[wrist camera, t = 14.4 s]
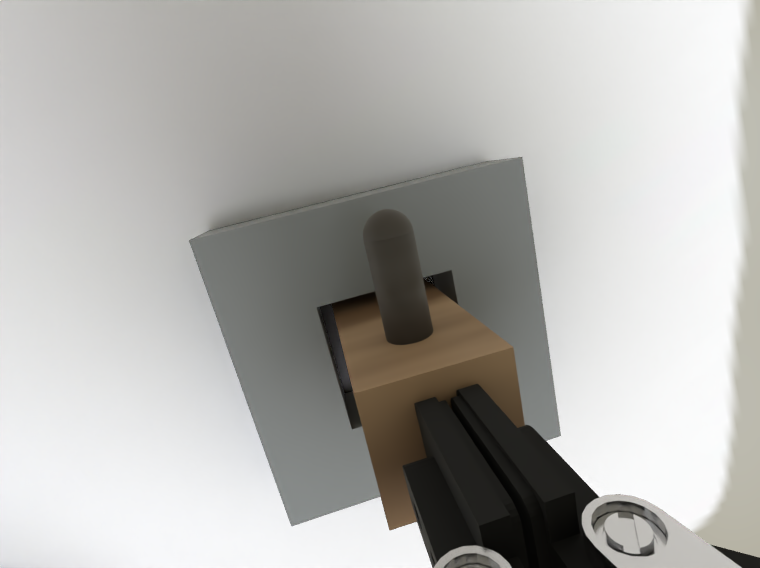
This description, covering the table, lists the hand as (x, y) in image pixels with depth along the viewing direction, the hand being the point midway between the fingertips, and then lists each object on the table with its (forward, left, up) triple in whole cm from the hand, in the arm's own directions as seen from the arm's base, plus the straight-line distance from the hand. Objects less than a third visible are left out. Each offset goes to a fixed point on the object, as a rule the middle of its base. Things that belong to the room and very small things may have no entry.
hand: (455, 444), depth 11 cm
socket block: (0, 0, -9) cm, 9 cm away
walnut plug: (-1, 0, -9) cm, 9 cm away
